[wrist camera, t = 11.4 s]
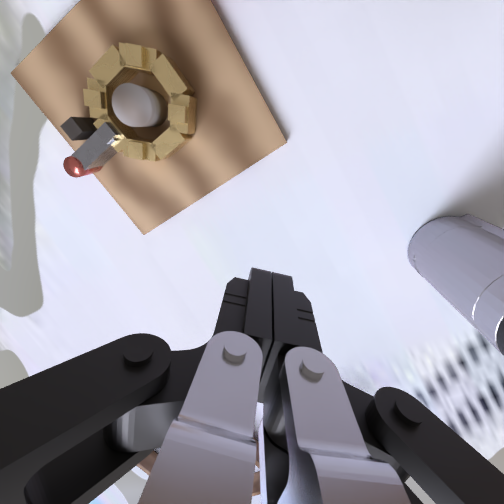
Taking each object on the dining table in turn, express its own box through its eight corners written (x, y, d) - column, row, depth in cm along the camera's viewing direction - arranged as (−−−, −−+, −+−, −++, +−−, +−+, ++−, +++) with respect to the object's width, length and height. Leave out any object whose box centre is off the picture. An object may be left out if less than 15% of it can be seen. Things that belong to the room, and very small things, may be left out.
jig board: (167, -80, 27) (139, -138, 21) (286, 142, 35) (290, 145, 29) (17, 74, 33) (-37, 63, 27) (146, 232, 41) (126, 250, 35)
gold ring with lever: (214, 119, 33) (206, 118, 29) (118, 201, 38) (99, 211, 34) (151, 28, 30) (131, 12, 25) (54, 131, 35) (24, 132, 30)
